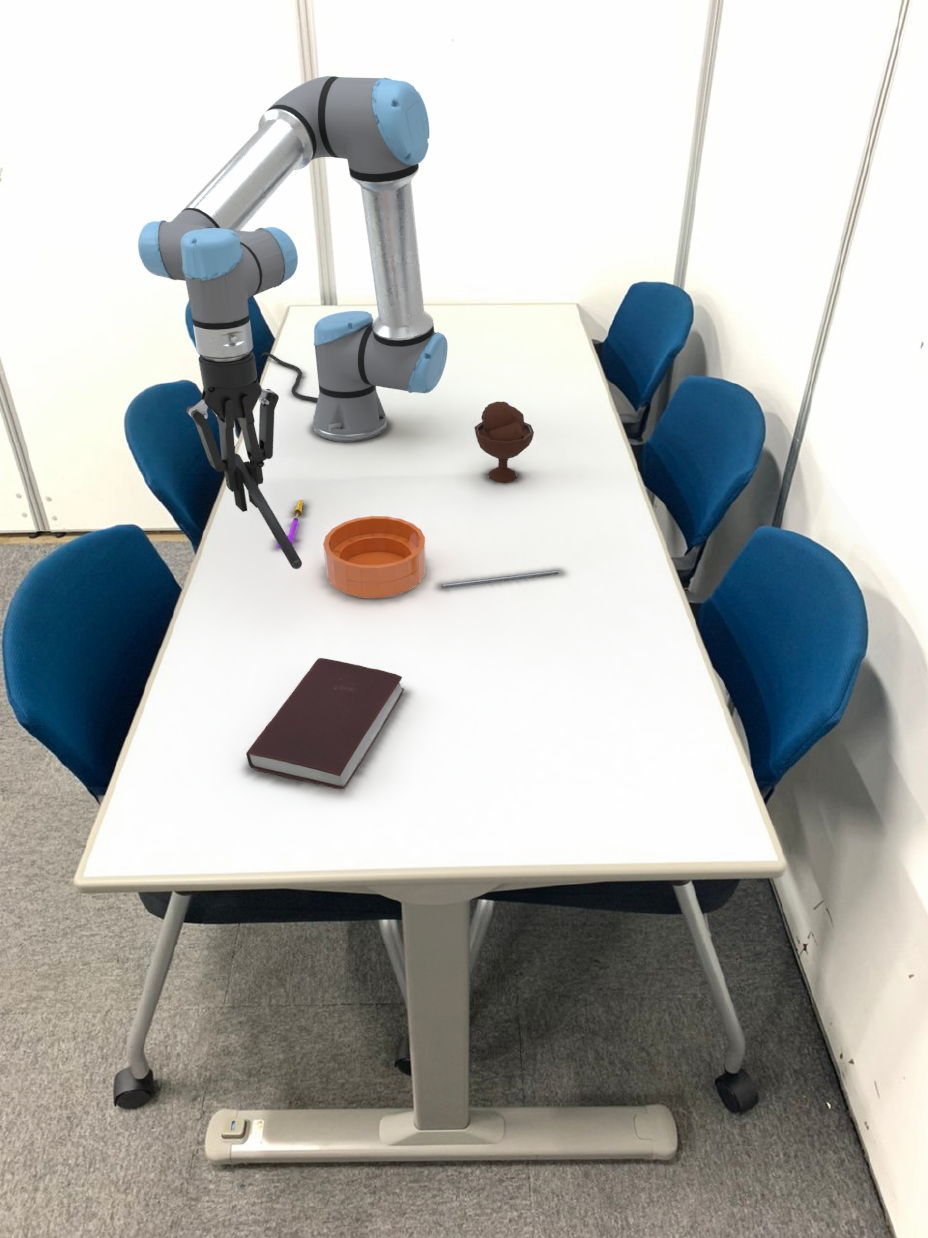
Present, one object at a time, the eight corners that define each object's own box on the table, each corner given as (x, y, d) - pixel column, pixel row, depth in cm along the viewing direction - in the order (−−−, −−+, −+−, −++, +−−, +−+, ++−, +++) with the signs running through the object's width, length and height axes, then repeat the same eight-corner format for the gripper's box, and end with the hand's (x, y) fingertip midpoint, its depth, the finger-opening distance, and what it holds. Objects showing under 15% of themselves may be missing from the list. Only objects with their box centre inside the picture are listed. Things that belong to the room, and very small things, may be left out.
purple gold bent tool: (293, 548, 147) (305, 502, 160) (290, 542, 147) (303, 496, 160) (277, 551, 148) (291, 505, 161) (275, 545, 147) (288, 500, 160)
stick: (236, 512, 139) (227, 453, 133) (246, 509, 140) (237, 450, 134) (294, 572, 126) (287, 509, 120) (304, 568, 127) (297, 506, 121)
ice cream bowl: (527, 491, 165) (531, 414, 156) (468, 485, 166) (468, 409, 158) (535, 466, 173) (539, 392, 164) (478, 461, 175) (480, 387, 166)
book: (247, 769, 107) (243, 749, 105) (319, 672, 122) (317, 653, 120) (343, 794, 104) (341, 775, 102) (404, 692, 118) (404, 673, 117)
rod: (440, 587, 139) (440, 583, 139) (556, 572, 143) (557, 569, 142) (441, 589, 139) (441, 585, 138) (558, 575, 142) (558, 571, 142)
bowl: (309, 566, 143) (306, 533, 140) (393, 538, 151) (391, 507, 147) (357, 612, 133) (355, 579, 130) (444, 580, 140) (444, 547, 137)
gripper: (184, 371, 116) (212, 529, 130) (286, 350, 123) (303, 502, 137) (164, 354, 121) (193, 508, 135) (263, 335, 128) (281, 484, 142)
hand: (248, 505), depth 136 cm, fingers closed on stick, 1 cm apart
